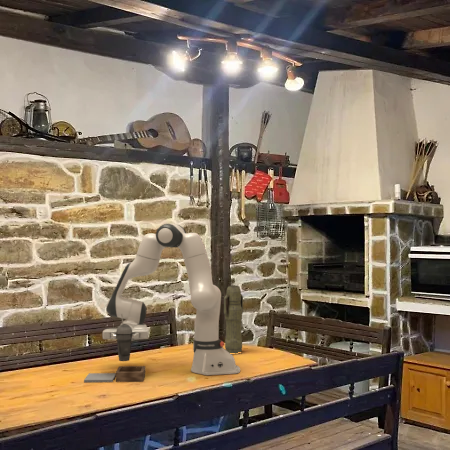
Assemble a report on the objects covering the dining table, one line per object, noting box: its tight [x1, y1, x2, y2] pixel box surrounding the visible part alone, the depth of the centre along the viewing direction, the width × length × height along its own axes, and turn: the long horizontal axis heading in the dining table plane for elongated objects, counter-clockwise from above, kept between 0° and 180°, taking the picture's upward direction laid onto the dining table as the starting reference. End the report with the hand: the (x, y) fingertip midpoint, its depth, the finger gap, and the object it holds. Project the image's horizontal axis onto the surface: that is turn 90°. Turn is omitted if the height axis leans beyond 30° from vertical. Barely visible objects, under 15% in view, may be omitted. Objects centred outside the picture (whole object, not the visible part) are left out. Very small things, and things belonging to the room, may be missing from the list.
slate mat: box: [83, 372, 116, 383], centre depth 263 cm, size 12×12×1 cm
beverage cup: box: [116, 314, 133, 362], centre depth 264 cm, size 7×7×20 cm
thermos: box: [223, 285, 244, 353], centre depth 319 cm, size 9×12×35 cm
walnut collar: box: [115, 365, 146, 383], centre depth 263 cm, size 12×12×4 cm
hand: (124, 337), depth 263 cm, fingers closed on beverage cup, 7 cm apart
